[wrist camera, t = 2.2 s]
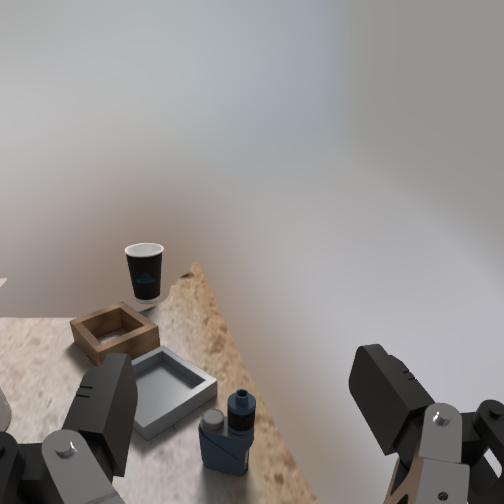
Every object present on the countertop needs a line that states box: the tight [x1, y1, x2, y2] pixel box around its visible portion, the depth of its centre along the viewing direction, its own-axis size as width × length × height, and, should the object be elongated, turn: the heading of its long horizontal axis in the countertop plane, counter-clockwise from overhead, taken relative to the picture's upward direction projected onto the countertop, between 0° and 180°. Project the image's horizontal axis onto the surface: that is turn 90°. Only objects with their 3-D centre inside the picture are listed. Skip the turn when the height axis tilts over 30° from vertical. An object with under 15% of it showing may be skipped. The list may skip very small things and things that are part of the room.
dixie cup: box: [125, 243, 163, 304], centre depth 61 cm, size 8×8×11 cm
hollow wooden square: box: [70, 302, 160, 366], centre depth 45 cm, size 11×11×4 cm
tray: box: [132, 345, 218, 441], centre depth 36 cm, size 12×11×3 cm
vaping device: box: [198, 389, 256, 476], centre depth 25 cm, size 3×5×12 cm, turn 77°
